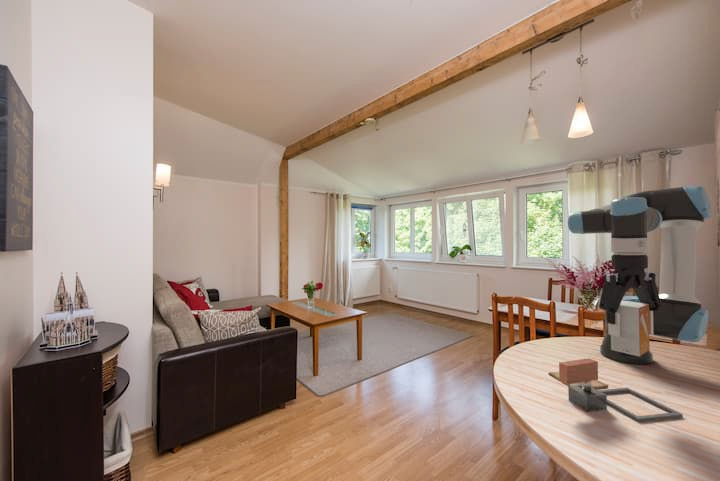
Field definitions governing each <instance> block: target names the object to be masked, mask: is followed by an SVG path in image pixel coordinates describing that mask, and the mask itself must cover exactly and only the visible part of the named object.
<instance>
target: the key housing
mask: <svg viewBox="0 0 720 481" xmlns="http://www.w3.org/2000/svg"><path fill="white" fill-rule="evenodd" d="M567 386H568V385H567ZM598 390H599V389H598V388H593V387H591V391H585V390H583V389H582V385H574V386H568V390H567V391H568V392H567V393H568V401H570V402H571V403H572V404H574V405H576V406H577V407H579V408H581V409H582V410H584V411H585V412H587V413H588V412H598V411H607V410H608V405H607V400H608V398H607V396H608V394H604V393H602V392H600V391H598Z"/></svg>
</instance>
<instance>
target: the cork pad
mask: <svg viewBox="0 0 720 481" xmlns="http://www.w3.org/2000/svg"><path fill="white" fill-rule="evenodd" d="M548 375H549V376H551V377H553V378H554V379H556V380H557V381H559V371H552V372H551V371H550V372H548ZM564 384H565V383H563V385H564ZM565 385H567V384H565ZM574 385H582V382H580V383H574V384H568V385H567V386H574ZM591 387H593V388H595V389H604V388H608V387H609V385H608V384H606V383H604V382H602V381H600V380H599V379H598V380H593V381H591Z"/></svg>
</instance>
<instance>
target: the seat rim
mask: <svg viewBox="0 0 720 481" xmlns="http://www.w3.org/2000/svg"><path fill="white" fill-rule="evenodd" d="M597 390H598V391H600V392H602V393H604V394H606V395H612V394H624V393H627V394H631V395H633V396H635V397H637V398H639V399H640V400H642V401H644V402H647V403H649V404H651V405H652V406H655V407H657V408H659V409H661V410H663V411H665V412H666V413H657V414H656V413H655V414H646V415H636V414H634V413H633V412H630V411H629V410H627V409H625V408H624V407H621V406H620V405H618V404H616V403H614V402H613V401H611V400H609V399H607V406H609V407H611V408H613V409H615V410H616V411H618V412H619V413H622V414H623V415H625V416H627V417H629V419H632V420H634V421H636V422H637V423H642V422H643V423H644V422H653V421H660V420H661V421H662V420H670V419H680V418H683V417H684V416H683V413H681V412H679V411H677V410H675V409H673V408H671V407H669V406H666V405H665V404H662V403H660V402H658V401H656V400H654V399H652V398H650V397H648V396H646V395H644V394H642V393H639V392H637V391H636V390H633V389H631V388H629V387H621V388H620V387H619V388H610V389H597Z"/></svg>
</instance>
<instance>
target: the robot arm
mask: <svg viewBox="0 0 720 481" xmlns="http://www.w3.org/2000/svg"><path fill="white" fill-rule="evenodd" d="M711 206H712V205H711V200H710V198H709V194H708V192H707V190H706V188H704V187H703V186H701V185H690V186H689V185H688V186H686V185H684V186H680V187H679V186H678V187H671V188H663V189H662V188H661V189H653V190H645V191H640V192H635V193H633V194H630V195H627V196H622V197H620V198H616V199H614V200H612V201H611V203H610V204H607V205H604V206H601V207H597V208H594V209H590V210H585V211H583V210H581V211H575V212H572V213H570V214H569V215H568V218H567V228H568V230H569V231H570V232H571V234H576V235H577V234H580V235H586V234H587V235H588V234H589V235H590V234H611V235H610V237H611V238H610V245H611V246H610V249H611V250H610V251H611V253H613V254H612V255H611V267H612V268H614V272H613V273H604V275H603V287H602V290H601V296H600V300H599V306H598V308H599V310H603V311H604V314H605V315H604V318H605V334H604V337H603V340H602V343H601V345H600V351H599V352H600V354H601V355H602V356H603V357H606V358H608V359H610V360H614V361H617V362H622V363H626V364H633V365H650V364H652V363H653V362H654V357H653V356H654V355H653V354H652V352H651V349H650V350H649V351H647V352H645V353H644V354H642V355H641V356H635V355H630V354H626V353H622V352H618V351H614V350H611V335H613V336H616V337H620V313H617V310H618V308H619V306H620V303H621V301H622V300H623V301H630V302H638V303H645V304H649V336H656V337H661V338H666V339H670V340H677V341H678V342H681V341H682V342H687V343H688V342H690V343H699V342H701V341H702V340H703V338H704V336H705V334H706V333H707V332H706V331H707V328H708V324H709V310H707V309H705V308H703V307H702V302H701V301H700V300H698V299H697V298H696V272H697V271H696V268H697V241H698V240H697V239H698V238H697V237H698V236H697V235H698V229H699V228H700V227H702V226H704V224H705V220H707V219H710V218H711V217H712V207H711ZM658 228H661V245H660V246H661V248H660V268H659V271H660V272H659V291H658V288H657V286H658V285H657V283H656V273H654V272H647V271H645V270H646V269H648V268H649V256H648V255H647V254H646V253H648V233H650V232H653V231H655V230H657V229H658ZM630 289H632V290H633V291H634V293H635V296H633V295H631V296H630V295H627V296H626V295H625V294H626V292H628V291H629V290H630ZM612 306H613V307H612Z"/></svg>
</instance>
